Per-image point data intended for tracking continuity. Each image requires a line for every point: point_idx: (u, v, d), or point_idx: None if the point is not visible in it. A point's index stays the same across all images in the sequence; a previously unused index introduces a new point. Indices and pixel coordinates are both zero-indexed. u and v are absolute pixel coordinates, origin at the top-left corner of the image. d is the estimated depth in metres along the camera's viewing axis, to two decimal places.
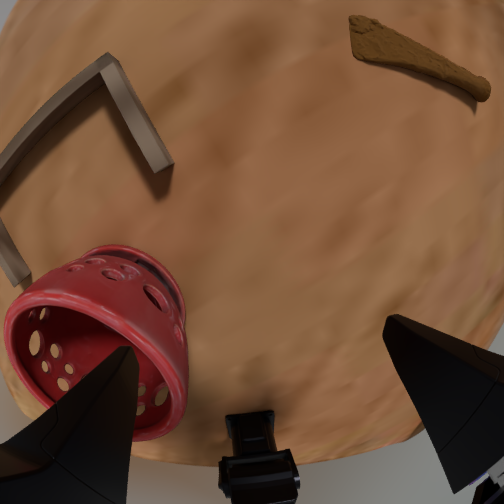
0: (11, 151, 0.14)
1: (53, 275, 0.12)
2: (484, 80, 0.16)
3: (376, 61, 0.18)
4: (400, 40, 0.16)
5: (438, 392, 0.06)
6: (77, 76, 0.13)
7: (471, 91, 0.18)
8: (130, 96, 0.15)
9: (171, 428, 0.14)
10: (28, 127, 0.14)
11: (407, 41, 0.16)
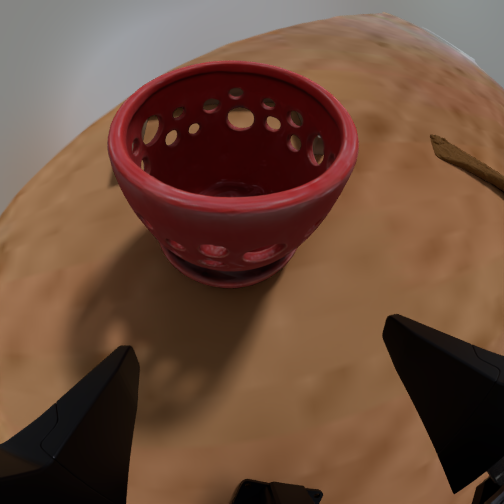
0: None
1: None
2: None
3: (448, 160, 0.29)
4: (459, 151, 0.29)
5: (438, 392, 0.06)
6: None
7: None
8: None
9: (317, 189, 0.10)
10: None
11: (462, 152, 0.29)
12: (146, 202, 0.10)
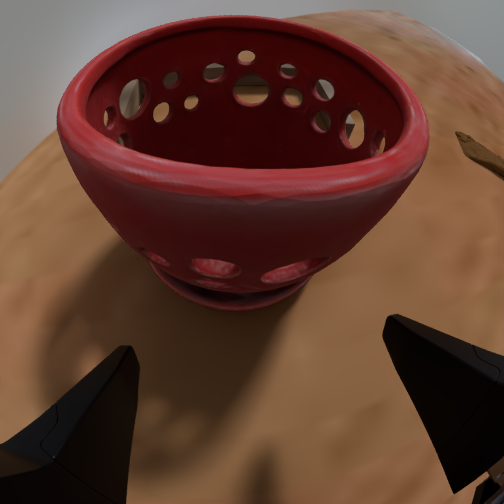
0: (211, 66, 0.22)
1: None
2: None
3: (476, 160, 0.24)
4: (484, 149, 0.25)
5: (438, 392, 0.06)
6: None
7: None
8: (332, 87, 0.22)
9: (399, 166, 0.05)
10: None
11: (488, 150, 0.24)
12: (95, 183, 0.05)
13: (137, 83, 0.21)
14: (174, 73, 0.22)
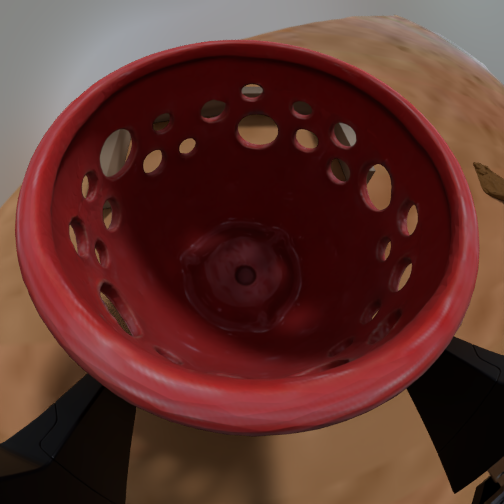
0: None
1: None
2: None
3: (494, 195, 0.22)
4: (501, 180, 0.23)
5: (439, 392, 0.06)
6: None
7: None
8: None
9: (450, 331, 0.04)
10: (242, 89, 0.21)
11: None
12: None
13: None
14: None
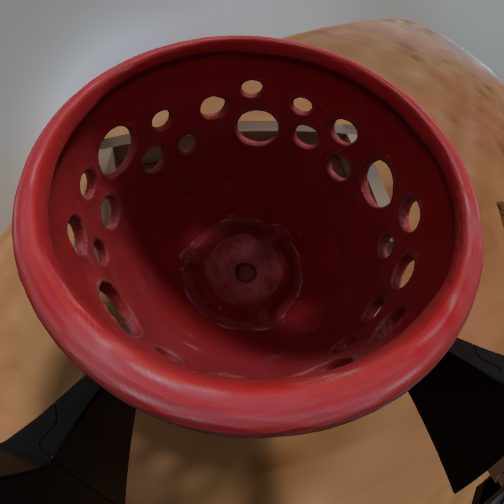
0: None
1: None
2: None
3: None
4: None
5: (439, 392, 0.06)
6: None
7: None
8: (374, 167, 0.18)
9: (456, 329, 0.04)
10: (249, 125, 0.18)
11: None
12: None
13: (111, 156, 0.17)
14: None
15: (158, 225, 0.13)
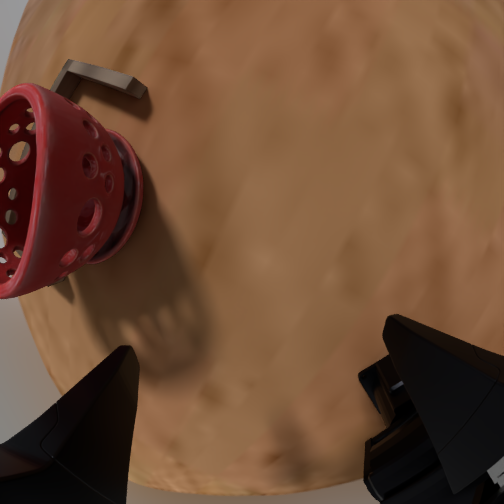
0: None
1: None
2: None
3: None
4: None
5: (438, 392, 0.06)
6: (54, 83, 0.17)
7: None
8: (91, 65, 0.16)
9: (39, 180, 0.08)
10: None
11: None
12: (19, 293, 0.10)
13: None
14: (15, 196, 0.20)
15: None
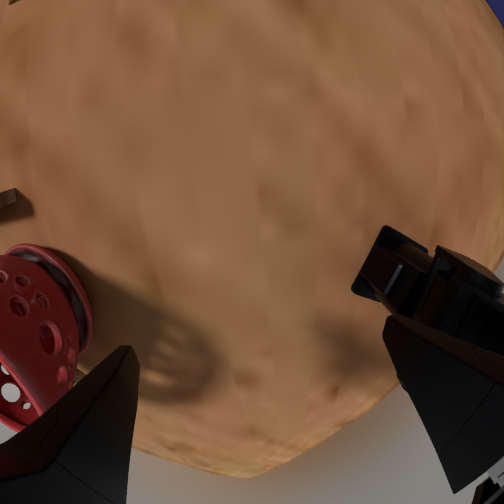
0: None
1: None
2: None
3: None
4: None
5: (438, 392, 0.06)
6: None
7: None
8: None
9: None
10: None
11: None
12: None
13: None
14: None
15: None
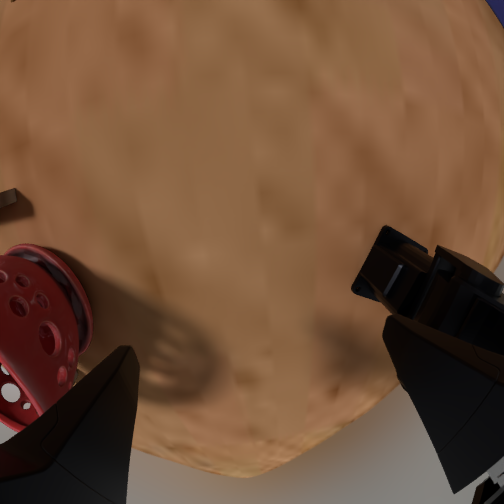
0: None
1: None
2: None
3: None
4: None
5: (438, 392, 0.06)
6: None
7: None
8: None
9: None
10: None
11: None
12: None
13: None
14: None
15: None
